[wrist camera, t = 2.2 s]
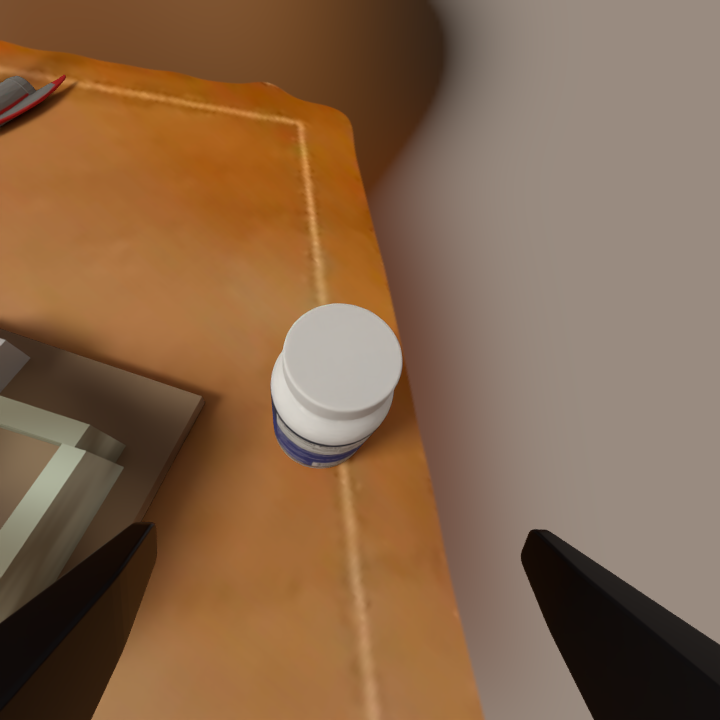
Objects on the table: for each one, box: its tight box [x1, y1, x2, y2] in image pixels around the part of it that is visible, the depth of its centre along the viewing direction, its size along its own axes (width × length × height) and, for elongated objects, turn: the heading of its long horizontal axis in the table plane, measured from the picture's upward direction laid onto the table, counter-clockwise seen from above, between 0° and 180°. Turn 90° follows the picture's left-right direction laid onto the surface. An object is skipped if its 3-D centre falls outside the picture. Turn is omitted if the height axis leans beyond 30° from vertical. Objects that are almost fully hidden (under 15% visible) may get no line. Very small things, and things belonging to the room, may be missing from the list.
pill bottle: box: [271, 304, 402, 468], centre depth 18 cm, size 6×6×10 cm
